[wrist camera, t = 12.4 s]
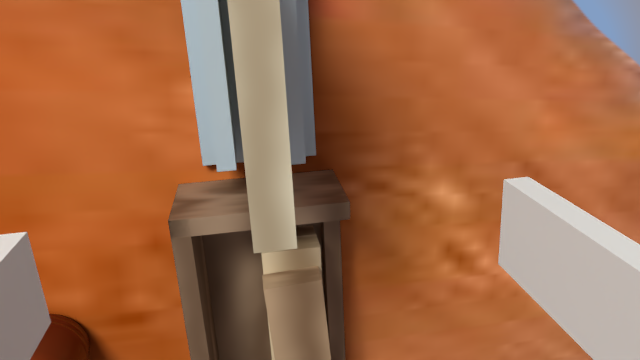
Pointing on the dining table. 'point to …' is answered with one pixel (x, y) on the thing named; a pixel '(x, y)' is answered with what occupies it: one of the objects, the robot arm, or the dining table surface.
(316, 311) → the offcut top
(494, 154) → the dining table surface
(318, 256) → the offcut mid
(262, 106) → the birch board
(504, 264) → the robot arm
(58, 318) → the mug
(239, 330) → the rack
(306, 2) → the slotted stand
